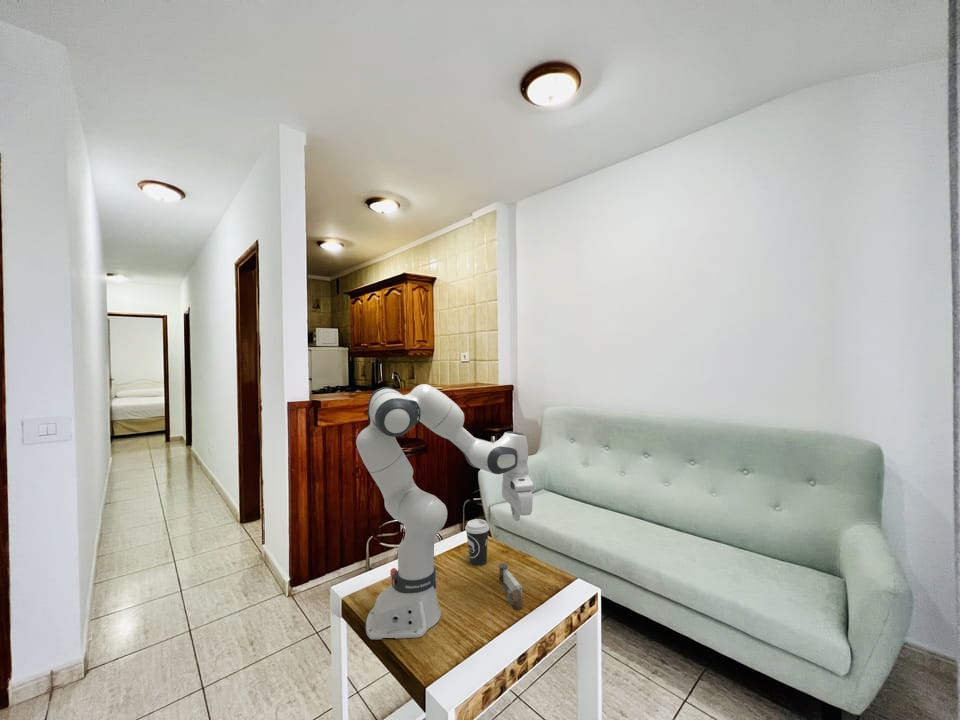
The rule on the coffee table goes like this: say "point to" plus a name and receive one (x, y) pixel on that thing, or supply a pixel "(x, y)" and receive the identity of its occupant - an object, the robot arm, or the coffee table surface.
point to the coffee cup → (477, 541)
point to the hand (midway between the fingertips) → (515, 519)
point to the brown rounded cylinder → (515, 599)
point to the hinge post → (501, 568)
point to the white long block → (511, 581)
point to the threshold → (507, 589)
